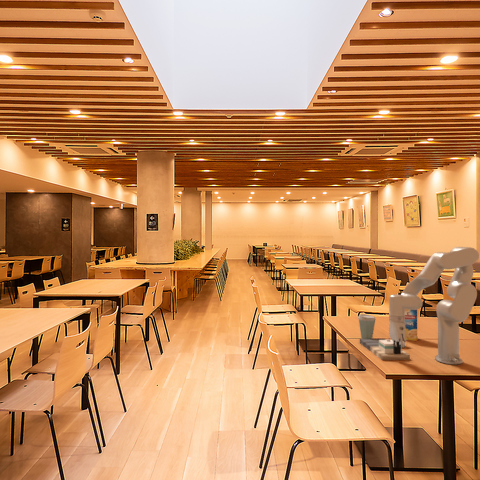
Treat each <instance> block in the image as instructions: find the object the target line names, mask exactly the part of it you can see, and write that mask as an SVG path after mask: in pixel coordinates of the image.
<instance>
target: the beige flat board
mask: <svg viewBox="0 0 480 480" xmlns="http://www.w3.org/2000/svg"><path fill="white" fill-rule="evenodd" d="M379 340H386V339H385V338H372V339H362V338H359V344H360V345H362V346H363V348H366V349H367V350H368V351H369V352H371V354H374V356H376V357H377V358H379V359H380V360H381V361H399V360H400V361H402V360H403V361H405V360H406V361H407V360H408V361H409V360H411V355H410V354H409V353H407V352H406V351H404V350H403V349H402V353H401V354H394V353H384V352H382V351H381V350H380V349H379Z"/></svg>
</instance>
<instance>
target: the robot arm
mask: <svg viewBox="0 0 480 480" xmlns="http://www.w3.org/2000/svg"><path fill="white" fill-rule="evenodd" d="M479 258H480V254H479V251H478V250H477V249H475V248H474V247H469V246H455V247H453V248H451V249H450V252H441V251H438V252H434V253H433V254H432V255H431V256H430V257H429V259H428V260H427V262H426V263H425V265H424V267H423V268H422V270H421V271H420V273H419V274H418V275H417V276H415V277H414V279H412V280H411V281H410V282H409V283H408V284H407V285H406V286H405V287H404V289H403V291H402V292H401V294H391V295H389V298H388V305H389V306H388V309H389V310H388V313H389V315H388V316H389V318H388V321H389V328H388V331H389V332H388V333H389V338H390V340H392V341H393V345H394V346H393V353H394V354H401V345H403V341H404V342H405V343H406V342H407V340H406V327H405V323H404V322H405V309H410V310H417V311H418V310H420V309H421V308H422V307H423V299H422V298H420V297H419V296H418V295H419V293H421V291H423V290H424V289H426V288H428V287H431V286H433V285H435V283H436V282H437V281H438V279H439V277H440V276H441V274H442V273H443V271H444V270H453V269H454V271H453V273H452V276H451V279H450V281H449V283H448V286H447V288H446V294H447V295H448V296H449V298H451V299H453V300H451V299H442V300H440V301H439V302H438V303H437V304H436V309H435V310H436V312H435V313H436V317H437V346H438V347H437V351H438V352H437V355H435V356H434V360H435V361H437V362H439V363H442V364H447V365H462V364H463V362H464V361H463V359H462V358H461V357H460V355H461V354H460V325H459V323H463V322H464V321H467V318H469V316H470V314H471V312H472V310H473V307H474V304H475V303H476V300H477V296H478V292H477V291H478V290H477V289H476V287H475V286H474V284H471V283H472V282H471V281H472V279H473V276H474V267H473V265H474V264H475V263H477V262H478V260H479Z"/></svg>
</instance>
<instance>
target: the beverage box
mask: <svg viewBox="0 0 480 480" xmlns="http://www.w3.org/2000/svg"><path fill="white" fill-rule="evenodd" d="M404 323H405V327H406V341H416V342H417V341H418V310H410V309H405V322H404Z"/></svg>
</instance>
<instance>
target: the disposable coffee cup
mask: <svg viewBox="0 0 480 480" xmlns="http://www.w3.org/2000/svg"><path fill="white" fill-rule="evenodd" d="M357 317H358V323H359V324H358V325H359V330H360V337H361V339H373V338H374V337H373V336H374V332H375V331H374V329H375V326H376V325H375V324H376V317H375V316H374V315H370V314H363V313H362V314H359V315H358V316H357Z"/></svg>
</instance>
